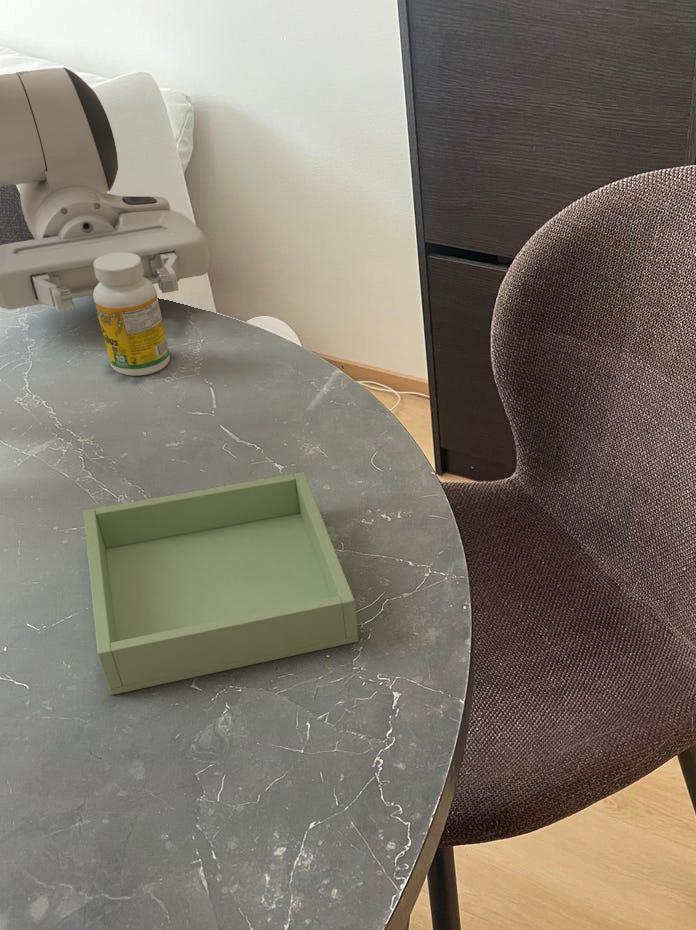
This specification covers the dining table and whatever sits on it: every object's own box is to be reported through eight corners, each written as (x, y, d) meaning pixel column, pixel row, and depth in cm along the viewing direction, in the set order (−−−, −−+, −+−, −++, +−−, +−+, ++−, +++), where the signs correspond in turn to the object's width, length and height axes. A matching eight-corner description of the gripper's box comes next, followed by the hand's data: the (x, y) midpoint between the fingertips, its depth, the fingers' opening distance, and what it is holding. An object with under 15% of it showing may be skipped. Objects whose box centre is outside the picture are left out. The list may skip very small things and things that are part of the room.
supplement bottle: (178, 368, 95) (157, 265, 89) (120, 382, 93) (95, 278, 87) (159, 345, 99) (138, 244, 92) (103, 358, 97) (77, 256, 90)
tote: (111, 695, 64) (97, 653, 62) (95, 550, 75) (82, 509, 72) (358, 641, 68) (354, 600, 65) (309, 511, 79) (304, 471, 76)
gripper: (-35, 226, 98) (-13, 280, 89) (180, 193, 105) (220, 240, 96) (-14, 291, 102) (8, 348, 93) (191, 255, 109) (230, 305, 100)
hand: (118, 293), depth 95 cm, fingers open, 8 cm apart
